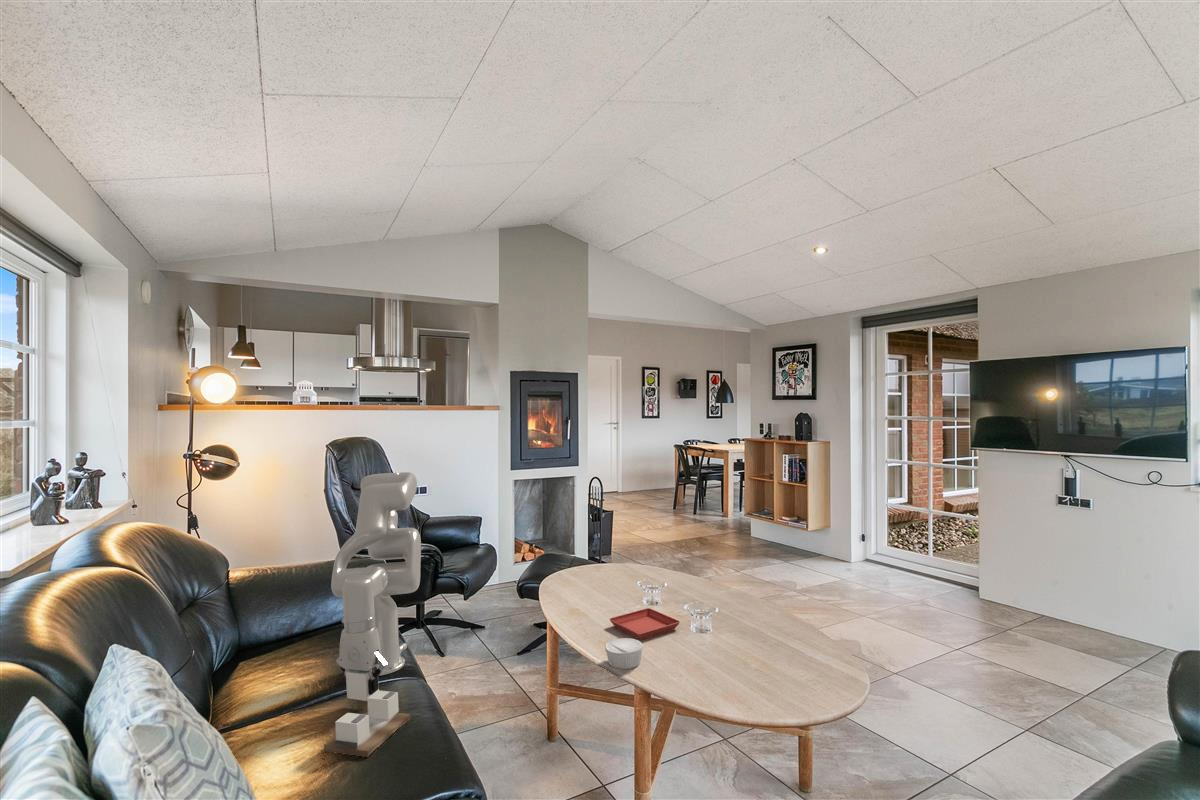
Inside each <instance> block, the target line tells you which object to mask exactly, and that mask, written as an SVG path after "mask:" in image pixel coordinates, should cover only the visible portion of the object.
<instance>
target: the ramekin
mask: <svg viewBox="0 0 1200 800" xmlns="http://www.w3.org/2000/svg"><path fill="white" fill-rule="evenodd" d="M643 646H644V645H643V643H642V642H641V641H640V640H639V639H636V638H630V637H628V638H627V637H623V638H622V637H620V638H615V639H612V640H610V641H608V642H607V643H606V644H605V646H604V650H605V652H606V656H607V661H608V663H609V665H610V666H611V667H613V668H615V669H618V670H629V669H633V668H636V667H637V666H639V664H640V663H641V661H642V653H643V652H642V651H643V649H644V648H643Z"/></svg>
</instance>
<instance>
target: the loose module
mask: <svg viewBox="0 0 1200 800" xmlns="http://www.w3.org/2000/svg"><path fill="white" fill-rule="evenodd" d="M372 671H373V673H374V668H373V669H372ZM369 679H370V677H369V675H368V672H367V671H359V670H351V669H350V670H348V671H347V672H346V677H345V682H346V684H345V685H346V698H347V699H350V700H356V701H357V700H358V701H364V702H367V698H368V697H369V696H371V695H369V688H368V680H369ZM378 684H379V681H378ZM379 685H380V684H379ZM379 687H380V686H379ZM379 687H378V690H380V689H379ZM378 690H377V691H378ZM374 693H375V692H374Z"/></svg>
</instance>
